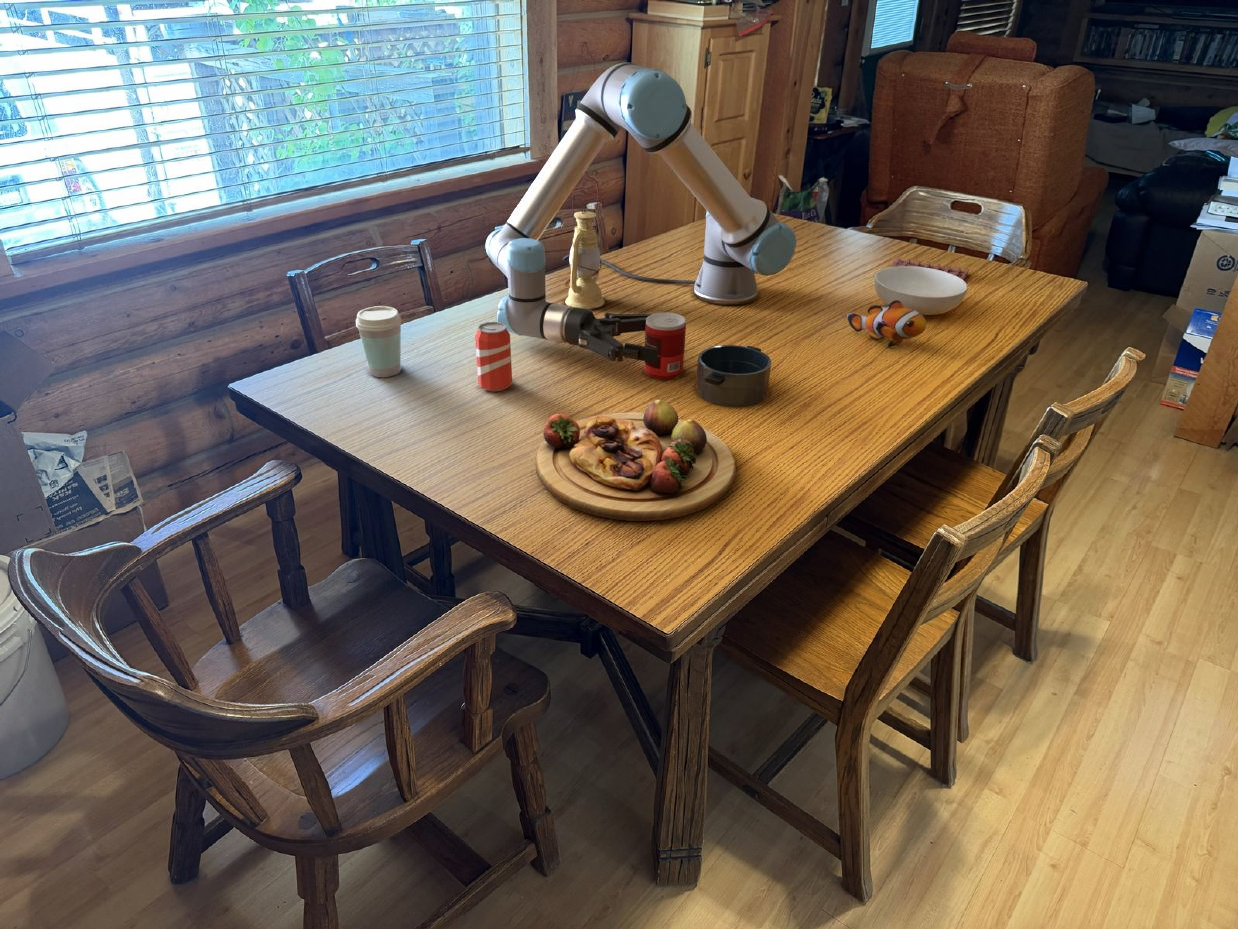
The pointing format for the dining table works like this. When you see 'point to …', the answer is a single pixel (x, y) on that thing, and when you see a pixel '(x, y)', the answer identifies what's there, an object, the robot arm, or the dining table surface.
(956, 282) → the serving bowl
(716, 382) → the pot handles
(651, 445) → the wooden plate
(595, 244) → the lantern
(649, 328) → the canned food
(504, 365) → the beverage can
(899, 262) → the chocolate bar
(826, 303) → the dining table surface
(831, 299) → the dining table surface
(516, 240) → the robot arm
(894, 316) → the fish
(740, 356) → the pot
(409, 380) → the dining table surface
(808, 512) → the dining table surface
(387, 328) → the coffee cup
